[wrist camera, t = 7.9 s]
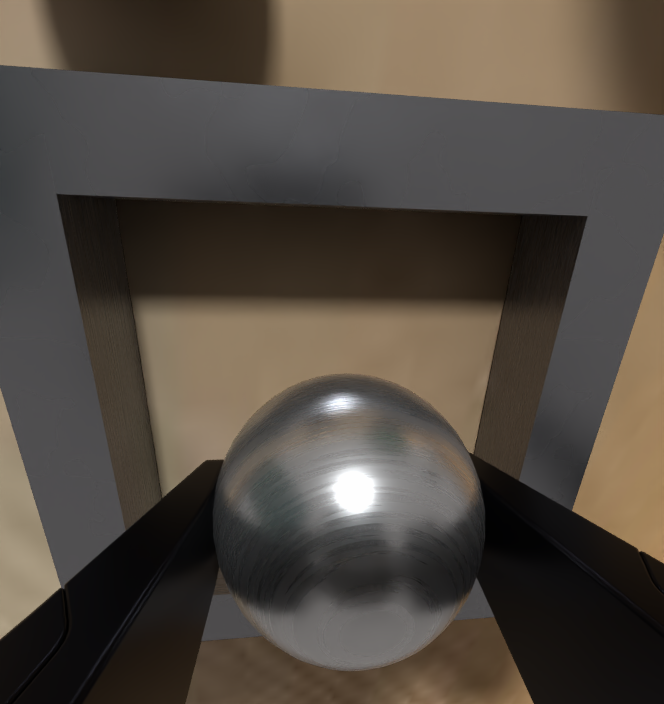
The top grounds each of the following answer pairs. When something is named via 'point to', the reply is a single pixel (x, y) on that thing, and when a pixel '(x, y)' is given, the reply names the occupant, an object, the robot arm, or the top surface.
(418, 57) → the top surface
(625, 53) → the top surface
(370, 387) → the steel ball
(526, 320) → the grey square frame
